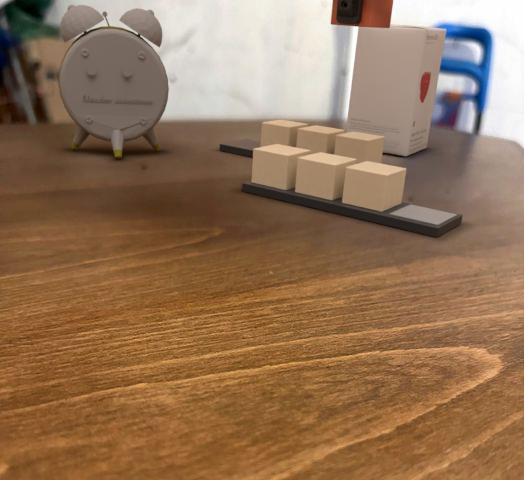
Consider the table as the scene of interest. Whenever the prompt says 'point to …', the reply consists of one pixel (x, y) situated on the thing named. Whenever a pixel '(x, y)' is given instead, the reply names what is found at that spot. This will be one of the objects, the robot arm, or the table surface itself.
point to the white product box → (395, 85)
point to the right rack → (343, 188)
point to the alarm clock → (113, 77)
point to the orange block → (370, 14)
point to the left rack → (312, 141)
